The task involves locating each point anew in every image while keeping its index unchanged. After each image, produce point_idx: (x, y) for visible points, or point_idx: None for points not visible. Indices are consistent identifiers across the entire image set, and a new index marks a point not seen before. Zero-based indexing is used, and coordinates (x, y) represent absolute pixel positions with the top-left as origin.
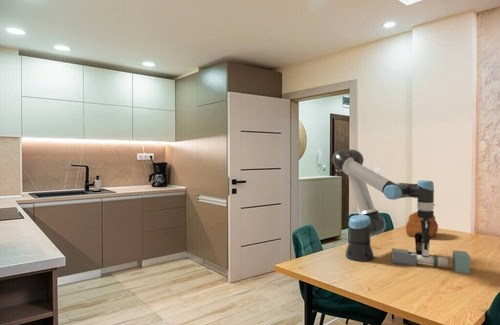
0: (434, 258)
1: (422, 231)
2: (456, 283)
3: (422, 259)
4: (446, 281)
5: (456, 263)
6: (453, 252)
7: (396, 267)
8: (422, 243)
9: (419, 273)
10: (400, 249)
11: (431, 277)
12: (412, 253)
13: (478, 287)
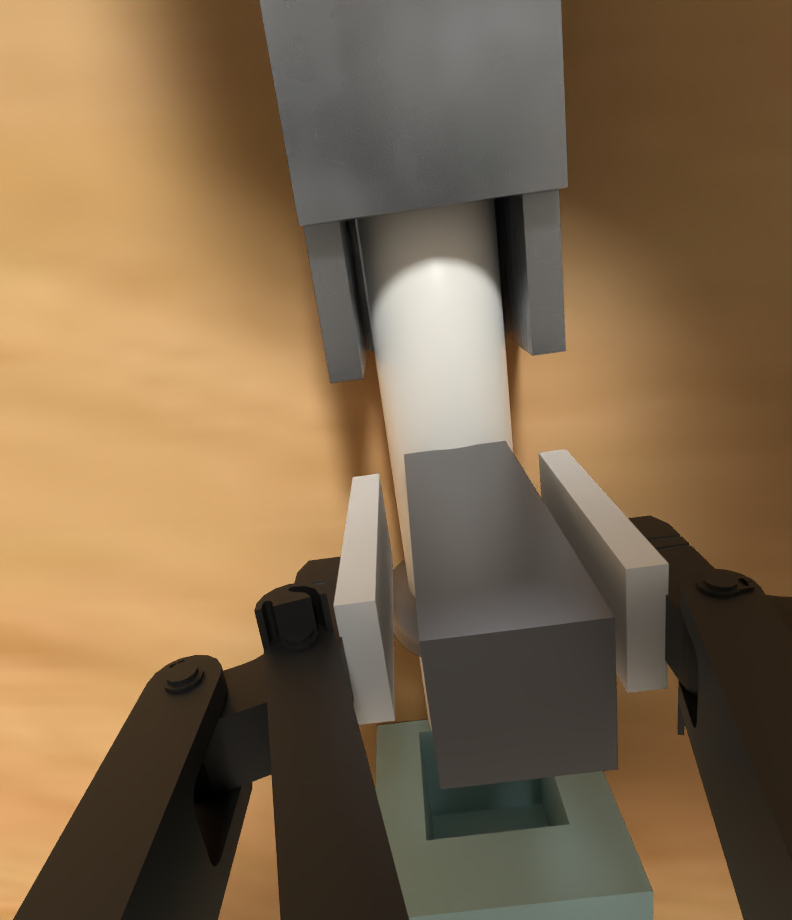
0: (403, 615)
1: (778, 835)
2: (14, 733)
3: (388, 445)
4: (3, 661)
5: None
6: (573, 884)
7: (118, 65)
8: (415, 575)
9: (71, 403)
10: (527, 2)
11: (21, 533)
12: (521, 282)
13: (43, 863)
